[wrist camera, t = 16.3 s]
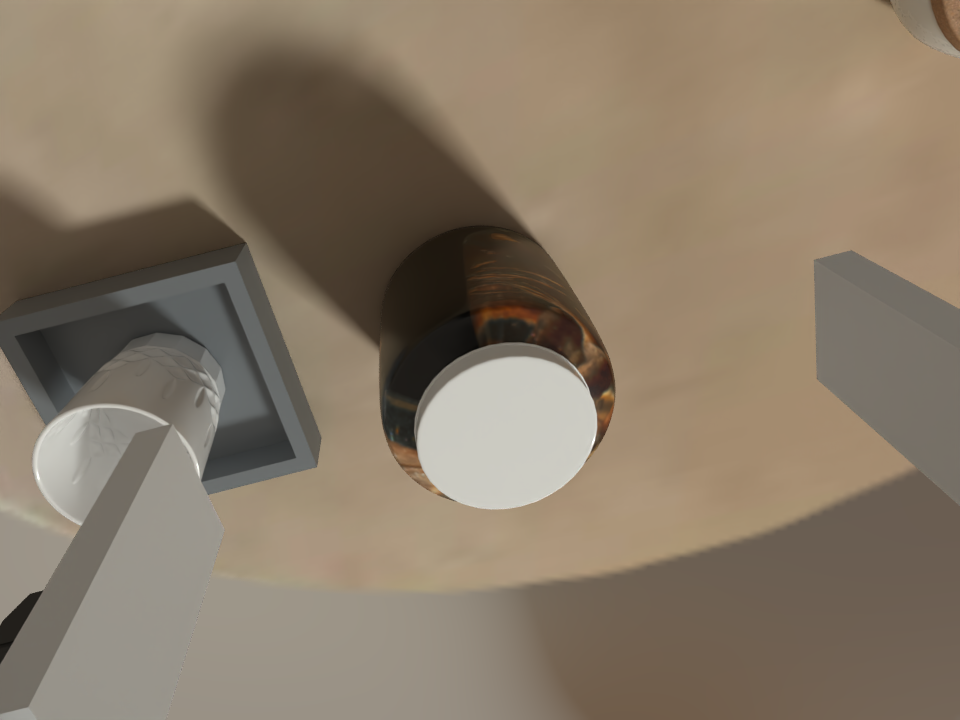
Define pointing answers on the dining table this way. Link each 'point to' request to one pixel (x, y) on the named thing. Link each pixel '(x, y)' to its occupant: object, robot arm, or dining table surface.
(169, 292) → the tray
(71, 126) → the dining table surface
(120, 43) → the dining table surface
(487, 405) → the jar
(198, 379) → the white cup
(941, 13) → the lidded jar
